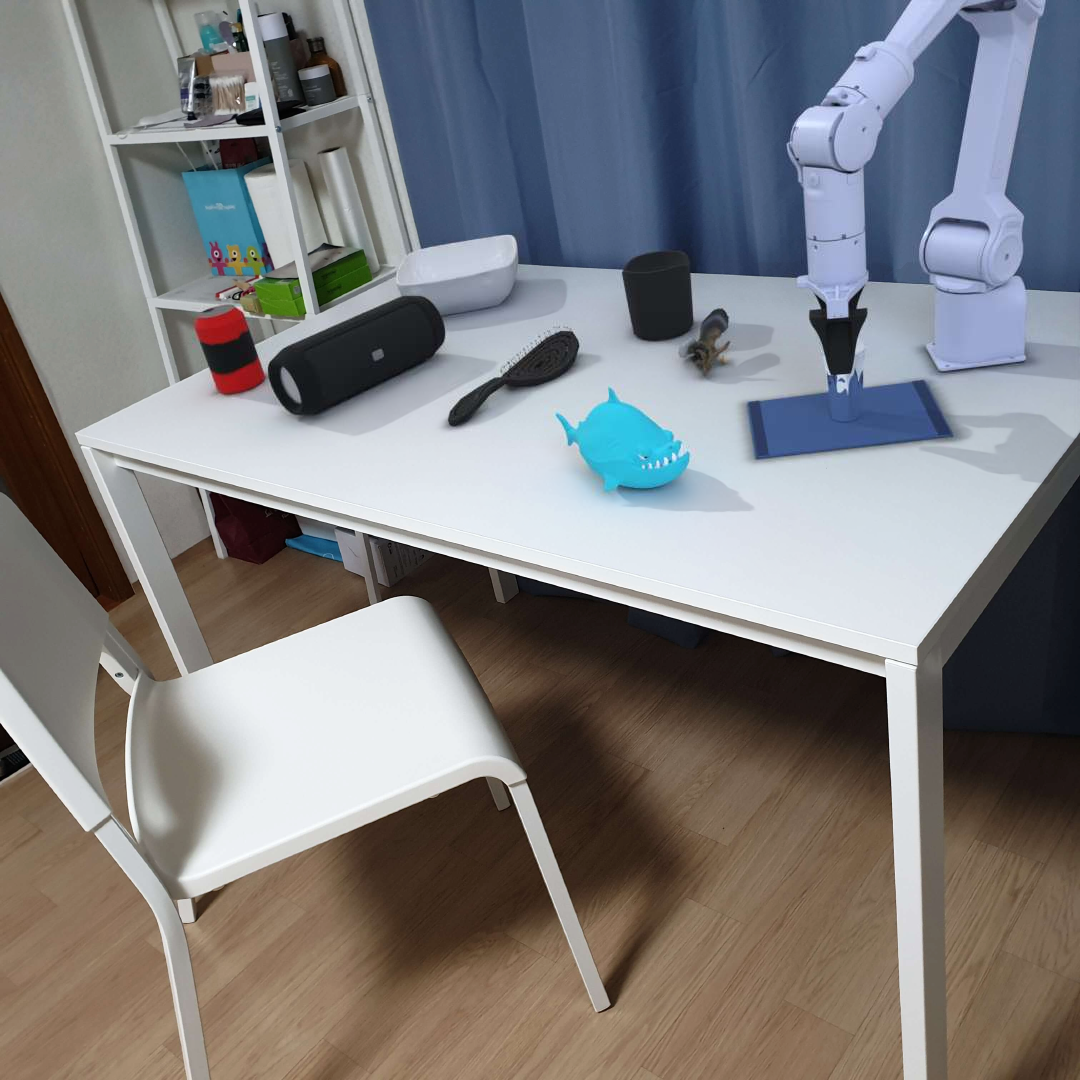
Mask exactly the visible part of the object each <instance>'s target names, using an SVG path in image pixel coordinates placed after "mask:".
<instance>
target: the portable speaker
mask: <svg viewBox="0 0 1080 1080" xmlns="http://www.w3.org/2000/svg"><path fill="white" fill-rule="evenodd" d="M445 340H446V327H445V322H444V319H443V317H442V316H441V315H440V313H439V311H438V309H437V308H436V307H435V305H434V304H433V303H432V302H431V301H430V300H429V299H427V298H425V297H423V296H401V295H400V296H399V297H396V298H394V299H391V300H390V301H389V300H388V301H387V302H385V303H383V304H380V305H378V306H376V307H373V308H371V309H368V310H365V311H364V312H362V313H360V314H357V315H355V316H353V317H350V318H348V319H346V320H343V321H342V322H339V323H336V324H334V325H333V326H330V327H327V328H325V329H322V330H320V331H319V332H316V333H314V334H311V335H309V336H307V337H304V338H302V339H300V340H298V341H296V342H293V343H291V344H289V345H287V346H285V347H283V348H282V349H281V350H279V352H278V353H277V354H276V355H274V357H273V358H272V359H270V361H269V363H268V364H267V376H268V381H269V383H270V384H269V385H270V387H271V389H272V390H273V394H274V395H275V397H276V398H277V400H278V401H279V403H280V404H281V406H282V407H283V408H284V409H285V410H286V411H287V412H289V413H290V414H291V415H294V416H306V415H308V416H309V415H318V414H321V413H323V412H325V411H327V410H330V409H331V408H333V407H336V406H338V405H340V404H341V403H344V402H346V401H348V400H350V399H352V398H355V397H356V396H358V395H361V394H363V393H364V392H366V391H368V390H371V389H372V388H375V387H376V386H378V385H381V384H383V383H386V382H387V381H389V380H391V379H393V378H395V377H397V376H399V375H401V374H403V373H405V372H407V371H409V370H411V369H413V368H415V367H418V366H419V365H421V364H423V363H425V362H426V361H427V360H429V359H431V358H433V356H435V355H436V353H437V352H438V351H439V349H441V347H442V346H443V344H444V343H445Z"/></svg>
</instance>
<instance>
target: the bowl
mask: <svg viewBox="0 0 1080 1080" xmlns="http://www.w3.org/2000/svg"><path fill="white" fill-rule="evenodd" d="M517 243H518V242H517V240H516V238H515V236H514V235H512V234H503V235H494V236H488V237H481V238H475V239H470V240H463V241H457V242H452V243H445V244H440V245H435V246H429V247H425V248H421V249H417V250H413V251H412V252H410V253H408V254H407V255H406V256H405V257H404V258H403V260H402V261H401V262H400V264H399V267H398V268H397V271H396V275H395V284H396V287H397V290H398V291H399V294H400V297H401V296H423V297H425V298H427V299H429V300H430V301H431V302H432V303H433V304H434V305H435V307H436V308H437V309H438V311H439V313H440V315H441V317H442V316H449V315H455V314H460V313H461V314H462V313H466V312H467V313H468V312H472V311H477V310H483V309H489V308H493V307H498V306H500V305H501V304H502V303H503V301H504V300H505V299H507V297H508V296H509V295H510V293H511V291H512V290H513V288H514V284H515V281H516V279H517V274H518V268H519V251H518V244H517Z"/></svg>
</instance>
